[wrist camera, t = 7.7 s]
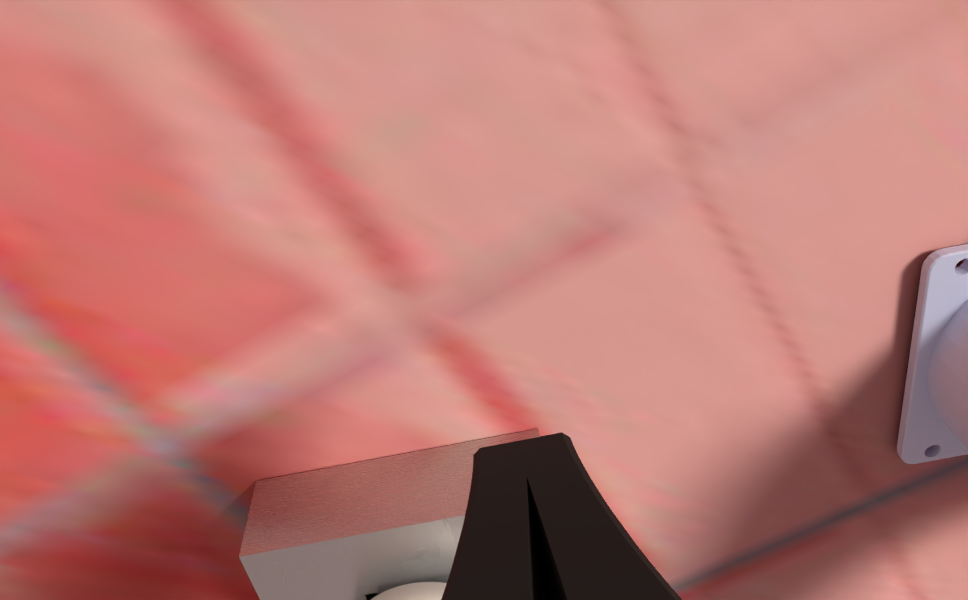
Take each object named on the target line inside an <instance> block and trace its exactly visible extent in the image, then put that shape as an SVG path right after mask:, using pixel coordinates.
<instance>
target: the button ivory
mask: <svg viewBox="0 0 968 600" xmlns="http://www.w3.org/2000/svg"><path fill="white" fill-rule="evenodd" d="M447 581H448V580H442V581H437V582H418V583H411V584H406V585H401V586H398V587H395V588H392V589H389V590H387V591H382V592H377V596H375V597H374V598H372V599H371V600H441V599H442V596H443V593H444V590H445V587H446V584H447Z"/></svg>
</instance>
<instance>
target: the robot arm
mask: <svg viewBox="0 0 968 600" xmlns="http://www.w3.org/2000/svg"><path fill="white" fill-rule="evenodd" d="M963 259H965V260H964V262H963V263H962V264H961V265H960V266H958V267H956V264H957V263H958V262H959V261H961V260H963ZM955 267H956V268H955ZM928 447H929V448H928ZM897 454H898V455H899V457H900V458H901V459H902V460H903V461H904V463H907V464H918V463H924V462H929V461H935V460H940V459H946V458H951V457H957V456H962V455H967V454H968V244H964V245H959V246H954V247H948V248H943V249H940V250H937V251H934V252H933V253H931V254H930V255H929V256H928V257H927V258H926V259H925V261H924V263H923V265H922V270H921V277H920V284H919V291H918V298H917V306H916V313H915V320H914V327H913V335H912V342H911V349H910V356H909V363H908V371H907V378H906V385H905V392H904V400H903V407H902V414H901V421H900V428H899V436H898V443H897ZM441 600H682V599H681V598H680V597H679V596H678V595H677V593H676V592H675V591H674V590H673V589H672V588H671V587H670V585H669V584H668V583H667V582H666V581H665V579H664V578H663V577H662V576H661V575H660V573H659V572H658V571H657V570H656V569H655V567H654V566H653V565H652V564H651V563H650V561H649V560H648V559H647V558H646V556H645V555H644V554H643V553H642V551H641V550H640V549H639V547H638V546H637V545H636V544H635V542H634V541H633V539H632V538H631V537H630V535H629V534H628V533H627V531H626V530H625V529H624V527H623V526H622V524H621V523H620V522H619V520H618V519H617V518H616V516H615V515H614V514H613V512H612V511H611V509H610V508H609V506H608V505H607V503H606V502H605V500H604V499H603V497H602V496H601V494H600V493H599V491H598V489H597V488H596V486H595V485H594V483H593V481H592V480H591V478H590V476H589V475H588V473H587V471H586V470H585V468H584V466H583V464H582V462H581V460H580V459H579V457H578V454H577V452H576V450H575V448H574V446H573V444H572V441H571V438H570V437H568V436H567V435H565V434H563V433H557V434H552V435H546V436H541V437H536V438H530V439H525V440H520V441H514V442H509V443H503V444H498V445H493V446H487V447H482V448H479V449H478V451H477V452H476V453H475V454H474V455H473V472H472V480H471V487H470V493H469V499H468V504H467V509H466V513H465V518H464V523H463V527H462V531H461V534H460V538H459V542H458V546H457V549H456V553H455V557H454V561H453V565H452V568H451V571H450V575H449V578H448V581H447V584H446V587H445V590H444V593H443V596H442V599H441Z"/></svg>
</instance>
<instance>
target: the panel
mask: <svg viewBox="0 0 968 600" xmlns="http://www.w3.org/2000/svg"><path fill="white" fill-rule="evenodd" d="M536 437H540V436H539V432H538V429H533V430H528V431H523V432H517V433H512V434H507V435H501V436H496V437H491V438H485V439H480V440H474V441H469V442H464V443H458V444H453V445H448V446H442V447H437V448H431V449H426V450H421V451H415V452H410V453H405V454H399V455H394V456H389V457H383V458H378V459H372V460H367V461H362V462H356V463H351V464H346V465H340V466H335V467H329V468H324V469H319V470H313V471H308V472H303V473H297V474H292V475H287V476H281V477H276V478H270V479H265V480H260V481H256V483H255V488H254V492H253V496H252V501H251V505H250V509H249V514H248V518H247V523H246V527H245V531H244V536H243V540H242V545H241V549H240V553H239V558H240V560H241V562H242V565H243V567H244V569H245V571H246V573H247V575H248V577H249V579H250V581H251V583H252V585H253V587H254V589H255V591H256V593H257V595H258V597H259V599H260V600H371V599H372V598H374V597H375V596H377V592H382V591H387V590H389V589H392V588H395V587H398V586H401V585H406V584H411V583H418V582H437V581H442V580H448V578H449V575H450V571H451V568H452V565H453V561H454V557H455V553H456V549H457V546H458V542H459V538H460V534H461V531H462V527H463V523H464V518H465V513H466V509H467V504H468V499H469V493H470V487H471V480H472V472H473V455H474V454H475V453H476V452H477V451H478V449H479V448H482V447H487V446H493V445H498V444H503V443H509V442H514V441H520V440H525V439H530V438H536Z"/></svg>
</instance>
